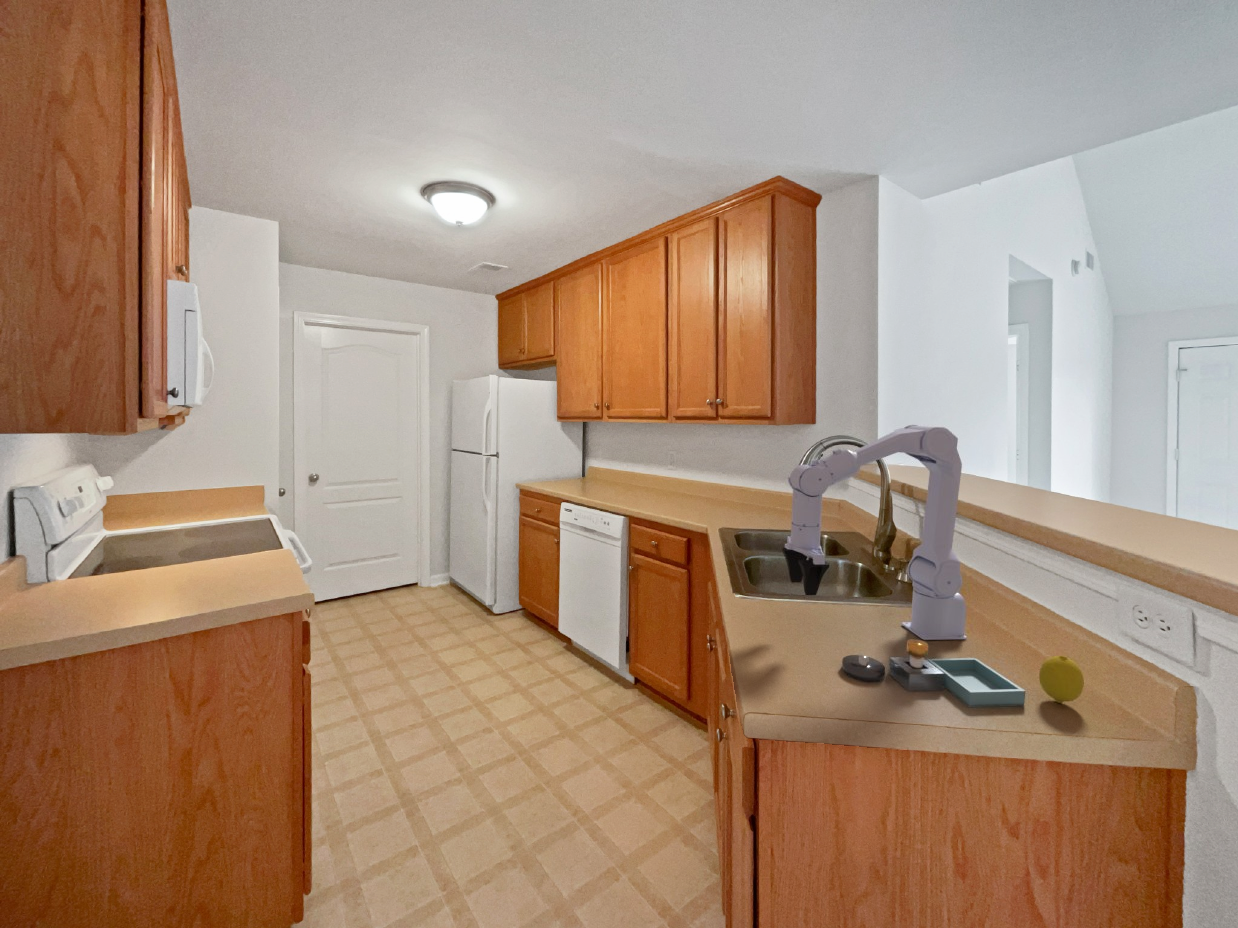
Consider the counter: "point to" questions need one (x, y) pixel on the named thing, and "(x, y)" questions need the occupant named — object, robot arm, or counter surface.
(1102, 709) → the counter surface
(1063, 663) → the lemon
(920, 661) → the lock pin
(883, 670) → the dark disc and block
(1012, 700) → the tray
